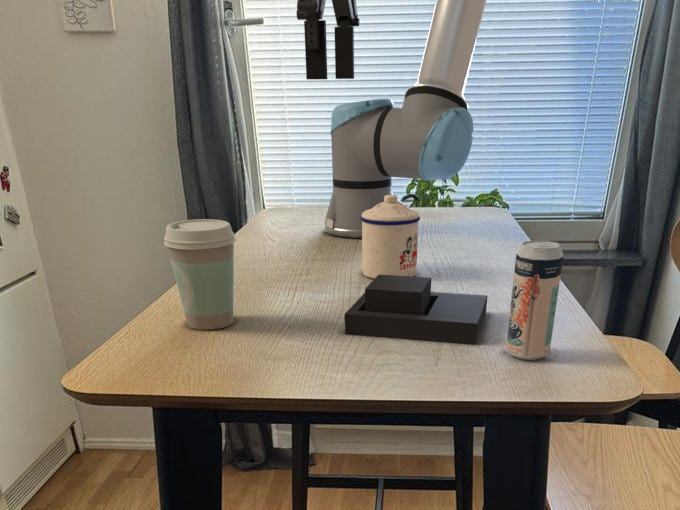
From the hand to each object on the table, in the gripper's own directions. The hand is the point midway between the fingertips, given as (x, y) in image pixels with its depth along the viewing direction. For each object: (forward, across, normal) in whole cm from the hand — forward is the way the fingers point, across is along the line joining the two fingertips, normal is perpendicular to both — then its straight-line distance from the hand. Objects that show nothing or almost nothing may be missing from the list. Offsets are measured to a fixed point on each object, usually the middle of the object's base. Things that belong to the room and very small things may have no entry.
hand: (331, 79), depth 95 cm
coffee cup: (+27, +30, -8) cm, 41 cm away
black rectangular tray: (+27, +24, +18) cm, 40 cm away
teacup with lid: (+27, -1, +9) cm, 28 cm away
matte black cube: (+27, +24, +15) cm, 39 cm away
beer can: (+27, +32, +32) cm, 53 cm away
